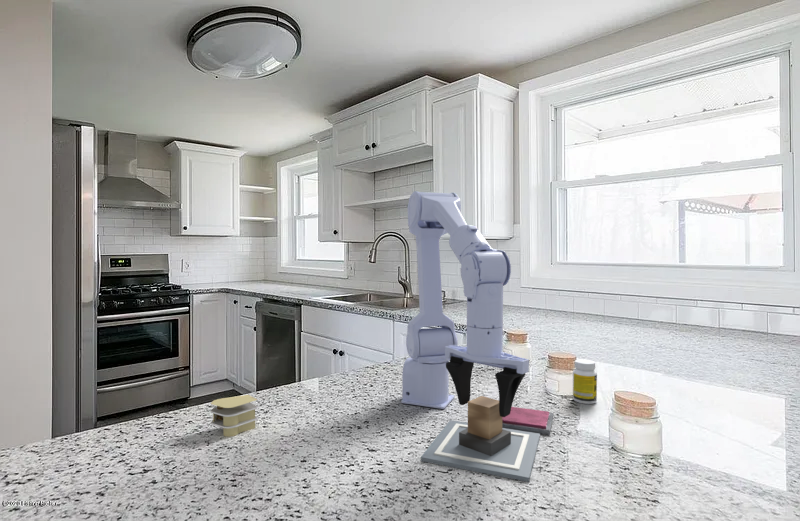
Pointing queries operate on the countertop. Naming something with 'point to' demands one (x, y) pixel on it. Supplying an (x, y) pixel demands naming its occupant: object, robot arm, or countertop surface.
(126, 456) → the countertop surface
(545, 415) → the ink pad
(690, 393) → the countertop surface
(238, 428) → the yellow white layered block
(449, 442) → the marked board
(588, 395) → the supplement bottle
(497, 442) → the stamp
